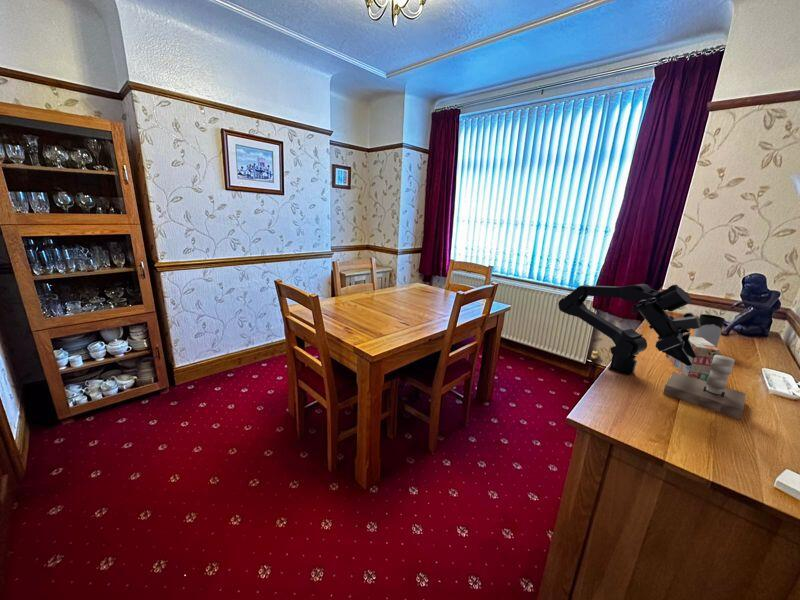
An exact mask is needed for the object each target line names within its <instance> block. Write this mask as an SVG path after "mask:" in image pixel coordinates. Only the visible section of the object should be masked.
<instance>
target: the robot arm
mask: <svg viewBox="0 0 800 600" xmlns="http://www.w3.org/2000/svg"><path fill="white" fill-rule="evenodd" d="M588 297H603V298H605V297H606V298H616V299H620V300H622V301H625V302H626V301H627V302H631V303H635V304H633V305H632V309H631V314H635V313H637V312H639V313H640V314H641V316H642V317H643V318H644V320H645V321H646V322H647V323H648V325H649V326H648V328H649V329H650V330H652V329H653V331H654V332H655V333H656V334H657V335H658V336H657V339H658V340H656V342H655V347H656V349H657V350H658V352H662V354H663V353H664V354H665V355H666V354H668V355H670V356H671V357H673V358H675V359H677V360H679V361H680V362H682V363H684V364H685V365H687V366H690V365H692V363H691V361H690V359H689V358H688V356H687V355H689V356H690V357H692V358H695V357H696V354H695V352H694V350H693V348H692V346H691V344H690V341H689V337H690V336H691V333H692V332H691V329H692V330H695V329H697V328H700V326H701V325H700V321H699V318H700V317H699V315H694V314H693V313H692V312H686V313H684V314H683V316H682V317H678V318H675V317H674V316H673V315H669V314H668V313H667V312H666V311H668V312H671V313H672V312H674V311H676V310H678V309H681V308H683V307H685V306H687V305H689V304H691V303H692V302H693V301H692V298H691V296H690V294H689V293H688V291H685V290H684V289H683V288H681V287H679V286H678V284H672V285H670V286H668V287H667V288H666V289H664V290H662V291H659V290H655V289H653V288H652V287H651V286H650V285H649V284H645V283H639V284H630V285H624V286H614V285H613V286H611V285H608V286H607V285H589V284H585V285H579V286H577V288H575V289H574V290H573V291H572V292H570V293H569V294H567V295H566V296H565V297H563V298H561V299H560V300H559V301H558V302H557V303H558V305H557V306H558V309H559V311H561V312H562V313H564V314H566V315H569V316H573V317H576V318H579V319H580V320H582V321H583V322H584V323H586V324H588V325H589V326H591V327H592V328H595V330H597V331H599V332H600V333H602V334H603V335H604V336H606V337H608V338H609V339H611V340H612V342H613V343H614V346H612V347H611V348H610V353H611V355H612V356H611V360H610V366H608V368H607V369H608V370H611V371H613V372H616V373H618V374H622V375H626V376H627V377H629V376H630V375H632V374H634V373H635V370H636V367H637V363H638V361H637V360H636V358H637V355H639V354H640V353H641V352H644V351H646V349H647V347H648V343H647V339H646V337H643V335H644V334H641V333H638V332H637V331H636V330H635V329H633V328H627V329H625V330H624V329H621V328H619V327H618V326H616V325H615V324H613V323H612V322H610V321H609V320H606V319H605V318H604V317H602V316H600V315H599V314H597V313H595V312H593V311H592V310H591V309H589V308H587V306H586V304H585V301H586V300H587V299H588ZM654 299H655V300H654ZM649 300H654V301H649ZM643 301H644V302H643ZM640 302H642V303H640ZM637 303H640V304H637Z"/></svg>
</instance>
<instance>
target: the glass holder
mask: <svg viewBox="0 0 800 600" xmlns="http://www.w3.org/2000/svg"><path fill="white" fill-rule="evenodd" d="M698 318H699V321H700V325H701V326H700V328H697V329H694V330H695V331H694V334H693V337H701V338H704V339H705V340H706V341H708V342H710V343H711V344H713V345H714V346H715V347H716V348H717V347H718V343H719V341H720V337H721V336H722V335H721V334H722V331H723V325H724V322H725V320H726V319H725V318H724V317H722V316H718V315H713V314H706V313H705V314H704V313H703V314H702V313H701V314H700V315H699V317H698ZM717 349H718V348H717Z"/></svg>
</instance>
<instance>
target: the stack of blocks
mask: <svg viewBox="0 0 800 600" xmlns="http://www.w3.org/2000/svg"><path fill="white" fill-rule="evenodd" d="M693 336H694V335H693ZM693 336H692V335H690V337H689V341H690V344H691V346H692V348H693V350H694V352H695V354H696V357H695V358H692V357H690V356H689V355H687V356H688V358H689V359H690V361H691V363H692V365H690V366H687V365H685V364H684V363H682V362H680V361H679V360H677V359H675V358H673V357H671V356H670V355H668V354H666V353H665V357H666V358H667V359H668V361H670V362H671V363H672V364H673V365H674V366H675V368H676V369H678V371H679V372H680V374H682V375H686V376H689V377H693V378H696V379H699V380H703V381H706V382H707V381H708V378H709V374H710V371H711V368H710V367H711V364H712V361H713V358H714V355H720V352H721V351H720V349H719V348H716V347H715V346H714V345H713V344H711V343H710V342H708V341H706V340H705V339H704V338H701V337H693Z"/></svg>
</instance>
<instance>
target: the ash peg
mask: <svg viewBox="0 0 800 600" xmlns="http://www.w3.org/2000/svg"><path fill="white" fill-rule="evenodd" d="M735 362H736V359H734V358H733V357H729V356H727V355H726V356H725V355H720V354H719V355H714V358H713V361H712V364H711V367H710V368H711V371H710V374H709V378H708V381H707V384H708V385H707V388H706V391H705V392H707V393H711V394H714V395H717V396H720V397H721V394H722V391H723V389H724V388H725V387H726V385H727V382H728V379H729V376H730V375H731V374H732V371H733V367H734V365H735Z"/></svg>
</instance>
